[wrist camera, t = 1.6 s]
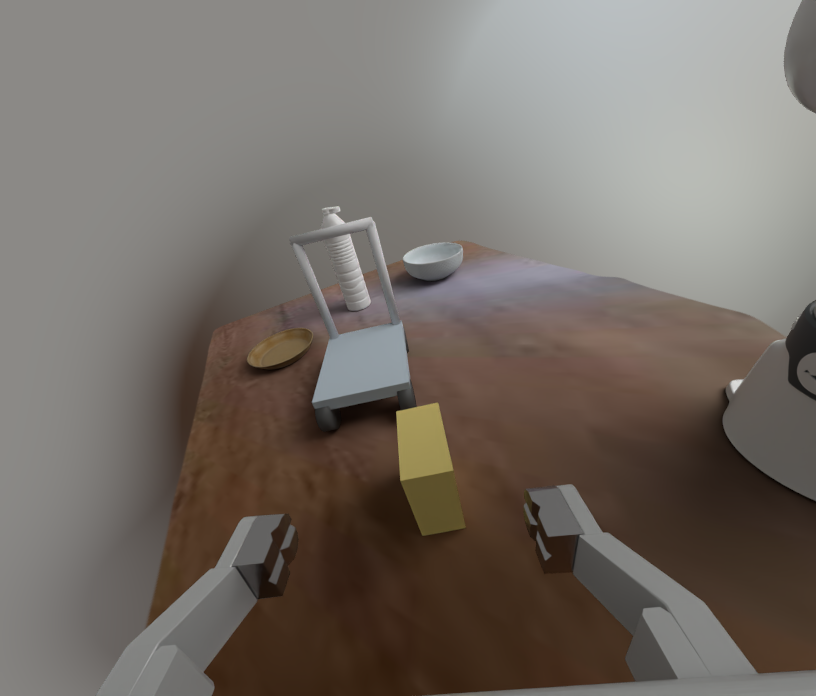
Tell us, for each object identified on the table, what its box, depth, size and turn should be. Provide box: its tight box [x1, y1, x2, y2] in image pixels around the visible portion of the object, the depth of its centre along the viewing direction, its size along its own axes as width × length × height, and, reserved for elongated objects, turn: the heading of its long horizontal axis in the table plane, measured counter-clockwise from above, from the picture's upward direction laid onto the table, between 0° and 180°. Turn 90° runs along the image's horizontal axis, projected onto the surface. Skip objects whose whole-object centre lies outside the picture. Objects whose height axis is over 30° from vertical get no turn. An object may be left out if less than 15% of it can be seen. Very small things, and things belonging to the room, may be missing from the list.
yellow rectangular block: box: [396, 403, 466, 536], centre depth 31 cm, size 4×8×10 cm, turn 5°
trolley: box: [290, 217, 416, 432], centre depth 45 cm, size 14×21×25 cm, turn 5°
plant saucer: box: [247, 328, 313, 370], centre depth 67 cm, size 15×15×3 cm
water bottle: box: [321, 206, 371, 311], centre depth 73 cm, size 9×6×25 cm
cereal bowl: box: [403, 243, 463, 281], centre depth 85 cm, size 17×17×7 cm
